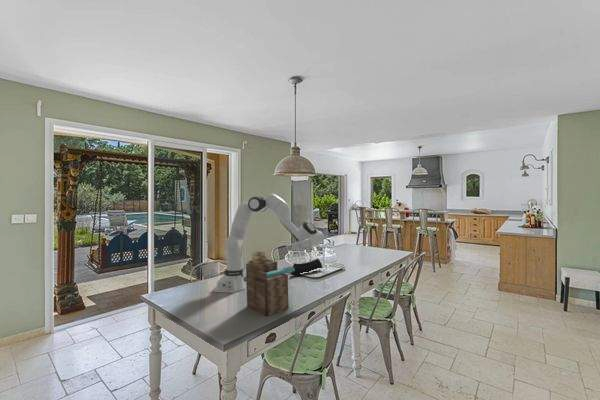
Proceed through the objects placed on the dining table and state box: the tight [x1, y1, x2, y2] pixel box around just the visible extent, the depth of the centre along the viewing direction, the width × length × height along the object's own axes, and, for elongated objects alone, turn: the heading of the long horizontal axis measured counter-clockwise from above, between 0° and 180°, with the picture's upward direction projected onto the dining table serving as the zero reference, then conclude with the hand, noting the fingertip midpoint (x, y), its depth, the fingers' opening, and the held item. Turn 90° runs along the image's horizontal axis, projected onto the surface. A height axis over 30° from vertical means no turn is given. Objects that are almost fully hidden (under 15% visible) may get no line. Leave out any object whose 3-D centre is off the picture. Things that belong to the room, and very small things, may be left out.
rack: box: [245, 250, 290, 317], centre depth 171 cm, size 16×20×32 cm
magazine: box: [290, 257, 323, 276], centre depth 243 cm, size 17×3×30 cm
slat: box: [266, 266, 295, 278], centre depth 170 cm, size 22×4×2 cm, turn 132°
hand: (287, 248), depth 182 cm, fingers open, 8 cm apart
